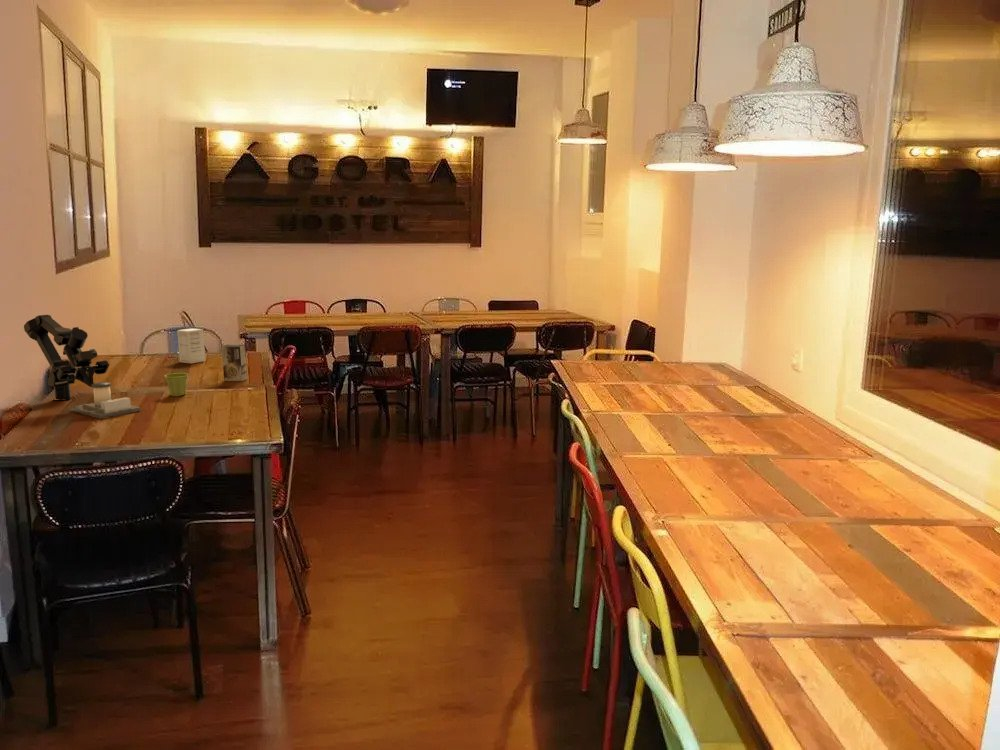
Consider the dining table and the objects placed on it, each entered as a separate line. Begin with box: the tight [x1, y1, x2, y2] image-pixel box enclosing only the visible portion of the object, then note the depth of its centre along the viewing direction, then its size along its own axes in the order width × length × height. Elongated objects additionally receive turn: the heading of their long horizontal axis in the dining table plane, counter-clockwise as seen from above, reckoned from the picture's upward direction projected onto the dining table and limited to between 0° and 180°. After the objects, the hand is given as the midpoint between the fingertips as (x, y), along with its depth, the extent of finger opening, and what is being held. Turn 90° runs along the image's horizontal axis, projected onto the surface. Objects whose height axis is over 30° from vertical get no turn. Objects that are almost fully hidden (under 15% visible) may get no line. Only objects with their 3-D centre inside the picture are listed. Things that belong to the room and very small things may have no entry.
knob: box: [91, 381, 112, 408], centre depth 318 cm, size 7×7×9 cm
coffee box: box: [220, 344, 248, 382], centre depth 377 cm, size 9×6×16 cm
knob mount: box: [70, 397, 141, 420], centre depth 318 cm, size 22×16×6 cm
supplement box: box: [176, 327, 207, 364], centre depth 424 cm, size 10×9×17 cm
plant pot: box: [164, 372, 189, 397], centre depth 346 cm, size 9×9×9 cm
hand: (92, 386), depth 322 cm, fingers closed
